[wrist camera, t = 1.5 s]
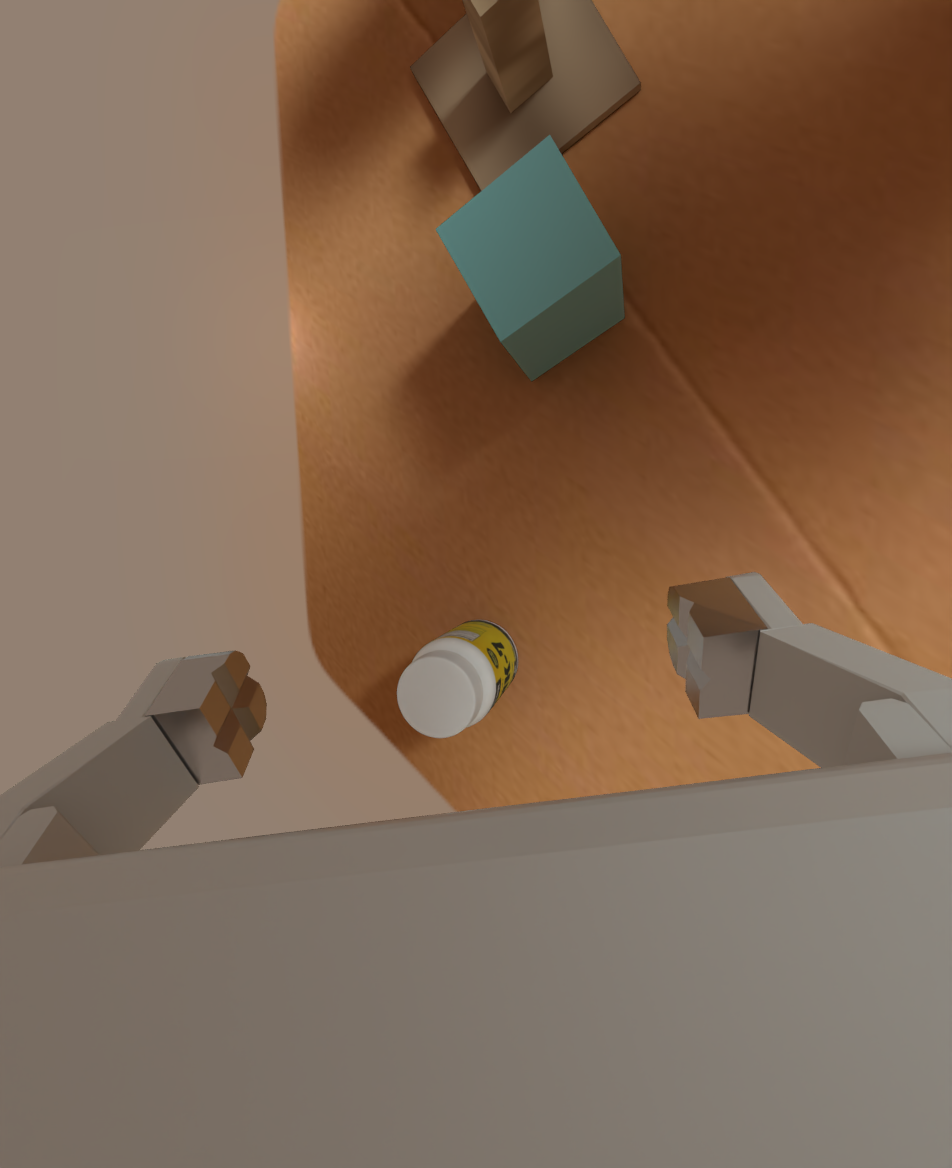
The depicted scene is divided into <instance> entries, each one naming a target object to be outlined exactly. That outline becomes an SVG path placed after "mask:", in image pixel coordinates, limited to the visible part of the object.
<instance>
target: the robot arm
mask: <svg viewBox="0 0 952 1168" xmlns="http://www.w3.org/2000/svg"><path fill="white" fill-rule="evenodd" d="M667 606H668V608H669V609H670V611H671V613H672V615H673V618H672V619H671V621H670V622H669V623H668V624H667V641H668V647H669V653H670V657H671V660H672V663H673V666H674V668H675V670H676V672H677V674H678V675H680V676H681V677H683V678H685V679H686V690H685V692H686V694H687V696H688V698H689V700H690V702H691V704H692V706H693V708H694V710H695V712H696V715H697V717H698V719H701V718H711V717H721V716H731V715H740V714H749V716H750V717H751V718H753V719H754V720H755V721H757V722H758V723H760V724H761V725H762V726H764V727H765V728H767V729H768V730H769V731H771V732H772V733H774V734H775V735H776V736H778V737H779V738H781V739H782V740H783V741H785V742H786V743H788V744H789V745H790V746H792V747H793V748H795V749H796V750H797V751H799V752H800V753H802V754H803V755H804V756H806V757H807V758H809V759H810V760H811V761H813V762H814V763H816V764H817V765H818V766H820V767H821V768H817V769H809V770H801V771H792V772H784V773H776V774H767V775H759V776H751V777H743V778H735V779H727V780H719V781H711V782H703V783H694V784H686V785H678V786H670V787H662V788H654V789H645V790H637V791H628V792H620V793H612V794H603V795H595V796H586V797H578V798H569V799H561V800H552V801H544V802H536V803H527V804H519V805H510V806H502V807H493V808H485V809H477V810H468V811H460V812H452V813H444V814H436V815H427V816H419V817H411V818H403V819H394V820H387V821H378V822H370V823H362V824H354V825H345V826H337V827H328V828H320V829H312V830H304V831H296V832H287V833H279V834H270V835H262V836H254V837H246V838H238V839H230V840H221V841H213V842H205V843H196V844H188V845H179V846H171V847H163V848H155V849H147V850H140V849H141V848H142V847H143V846H144V845H145V844H146V843H147V841H149V840H150V838H151V837H152V836H153V835H154V834H155V833H156V832H157V831H158V830H159V829H160V828H161V827H162V826H163V824H165V823H166V821H167V820H168V819H169V818H170V817H171V816H172V815H173V814H174V813H175V812H176V811H177V810H178V809H179V808H180V807H181V806H182V804H183V803H184V802H185V801H186V800H187V799H188V798H189V797H190V796H191V795H192V794H193V793H194V792H195V791H196V790H197V789H198V787H199V786H198V785H200V784H206V783H212V782H218V781H225V780H231V779H237V778H242V777H243V775H244V772H245V770H246V767H247V765H248V762H249V760H250V758H251V755H252V753H253V750H254V748H253V746H252V744H251V742H250V740H252V739H253V738H254V737H255V736H256V735H257V734H258V733H259V732H261V730H262V728H263V725H264V722H265V720H266V706H267V705H266V699H265V695H264V692H263V690H262V688H261V686H260V684H259V683H258V682H256V681H254V680H253V679H251V678H250V677H248V676H247V675H248V672H249V669H250V665H249V663H248V661H247V660H246V658H245V656H244V654H243V653H241V652H238V651H228V652H220V653H213V654H204V655H197V656H188V657H182V658H175V659H168V660H163V661H161V662H159V663H156V665H155V666H154V668H153V669H152V671H151V672H150V673H149V675H148V676H147V677H146V679H145V680H144V682H143V683H142V684H141V686H140V688H139V689H138V690H137V692H136V693H135V694H134V696H133V697H132V698H131V700H130V701H129V703H128V704H127V706H126V707H125V708H124V710H123V711H122V712H121V714H120V715H119V717H118V718H117V720H116V721H112V722H107V723H106V724H104V725H103V726H101V727H100V728H98V729H97V730H95V731H94V732H92V733H91V734H90V735H88V736H87V737H85V738H84V739H82V740H81V741H79V742H78V743H76V744H75V745H74V746H72V747H70V748H69V749H67V750H66V751H65V752H63V753H62V754H60V755H59V756H57V757H56V758H54V759H53V760H52V761H50V762H48V763H47V764H45V765H44V766H43V767H41V768H40V769H38V770H37V771H35V772H34V773H32V774H31V775H29V776H28V777H27V778H25V779H24V780H22V781H21V782H19V783H18V784H17V785H15V786H13V787H12V788H10V789H9V790H7V791H6V792H4V793H3V794H1V795H0V1168H952V679H951V678H949V677H946V676H944V675H941V674H939V673H936V672H934V671H931V670H929V669H926V668H924V667H921V666H919V665H916V664H914V663H911V662H908V661H906V660H903V659H901V658H898V657H896V656H893V655H891V654H888V653H886V652H883V651H881V650H878V649H876V648H873V647H871V646H868V645H866V644H863V643H861V642H858V641H856V640H853V639H851V638H848V637H846V636H843V635H841V634H838V633H836V632H833V631H830V630H828V629H825V628H823V627H820V626H818V625H815V624H813V623H810V624H802V622H801V621H800V620H799V619H798V618H797V617H796V616H795V614H794V613H793V612H792V611H791V610H790V609H789V607H788V606H787V605H786V604H785V603H784V602H783V600H782V599H781V598H780V597H779V596H778V595H777V593H776V592H775V591H774V590H773V589H772V588H771V586H770V585H769V584H768V583H767V582H766V581H765V579H764V578H763V577H762V576H761V575H760V574H759V573H756V572H751V573H745V574H740V575H734V576H729V577H726V578H721V579H715V580H709V581H702V582H696V583H690V584H683V585H677V586H671V587H669V591H668V603H667Z"/></svg>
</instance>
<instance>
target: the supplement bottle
mask: <svg viewBox="0 0 952 1168" xmlns="http://www.w3.org/2000/svg"><path fill="white" fill-rule="evenodd" d="M517 668H518V653H517V649H516V646H515V644H514V642H513V640H512V638H511V636H510V635H509V634H508V633H507V632H506V631H505V630H504V629H503V628H502V627H500V626H499V625H497V624H495V623H493V622H490V621H486V620H471V621H467V622H465V623H462V624H461V625H459V626H457V627H455V628H454V629H452V630H450V631H448V632H447V633H445V634H443V635H441V636H440V637H438V638H436V639H435V640H433V641H431V642H430V643H428V644H426V645H425V646H424V647H423V648H422V649H421V650H420V651H419V652H418V653H417V654H416V656H415V657H414V659H413V661H412V663H411V664H410V665H409V666H408V667H407V668H406V669H405V670H404V672H403V673H402V675H401V677H400V679H399V683H398V687H397V700H398V705H399V708H400V711H401V713H402V715H403V717H404V718H405V720H406V721H407V722H408V723H409V724H410V726H412V727H413V728H414V729H415V730H417V731H418V732H420V733H421V734H423V735H426V736H429V737H433V738H447V737H451V736H454V735H456V734H458V733H459V732H461V731H462V730H464V729H465V728H467V727H470V726H472V725H474V724H476V723H477V722H479V721H480V720H482V719H483V718H484V717H485V716H486V715H487V713H488V712H489V711H490V710H491V708H492V707H493V706H494V704H495V703H496V702H497V701H498V699H499V698H500V697H501V695H502V694H503V693H504V691H505V690H506V689H507V688H508V686H509V685H510V684H511V682H512V681H513V679H514V677H515V675H516V672H517Z"/></svg>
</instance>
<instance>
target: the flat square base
mask: <svg viewBox="0 0 952 1168" xmlns="http://www.w3.org/2000/svg"><path fill="white" fill-rule="evenodd" d="M462 1H463V4H464V7H465V10H466V14H465V15H464V16H463V17H462V18H461V19H460V20H459V21H458V22H457V23H456V24H455V25H454V26H453V27H452V28H451V29H450V30H448V31H447V32H446V33H445V34H444V35H443V36H442V37H441V38H440V39H439V40H438V41H437V42H436V43H435V44H434V45H433V46H432V47H431V48H430V49H428V50H427V51H426V52H425V53H424V54H423V55H422V56H421V57H420V58H419V59H418V60H417V61H416V62H415V63H414V64H413V65H412V66H411V67H410V68H411V70H412V72H413V74H414V76H415V78H416V79H417V81H418V83H419V85H420V86H421V88H422V90H423V91H424V93H425V95H426V97H427V98H428V100H429V102H430V104H431V105H432V107H433V109H434V110H435V112H436V114H437V116H438V117H439V119H440V121H441V122H442V124H443V126H444V128H445V129H446V131H447V133H448V134H449V136H450V138H451V140H452V141H453V143H454V145H455V147H456V148H457V150H458V152H459V153H460V155H461V157H462V159H463V160H464V162H465V164H466V165H467V167H468V169H469V171H470V172H471V174H472V176H473V178H474V179H475V181H476V183H477V184H478V186H479V188H480V190H481V191H482V190H483V189H485V188H486V187H487V186H488V185H489V184H491V183H492V182H493V181H494V180H495V179H497V178H498V177H499V176H500V175H501V174H503V173H504V172H505V171H506V170H508V169H509V168H510V167H511V166H512V165H514V164H515V163H516V162H517V161H518V160H520V159H521V158H522V157H523V156H524V155H526V154H527V153H528V152H529V151H530V150H532V149H533V148H534V147H535V146H537V145H538V144H539V143H540V142H541V141H543V140H544V139H545V138H546V137H547V136H549V135H550V136H551V137H552V139H553V141H554V142H555V144H556V146H557V148H558V149H559V151H560V153H561V154H562V153H563V152H564V151H566V150H567V149H568V148H569V147H571V146H572V145H573V144H574V143H576V142H577V141H578V140H579V139H581V138H582V137H583V136H584V135H585V134H587V133H588V132H589V131H590V130H592V129H593V128H594V127H595V126H597V125H598V124H599V123H600V122H602V121H603V120H604V119H605V118H606V117H608V116H609V115H610V114H611V113H613V112H614V111H615V110H616V109H618V108H619V107H620V106H621V105H623V104H624V103H625V102H626V101H627V100H629V99H630V98H631V97H632V96H634V95H635V94H636V93H637V92H639V91H640V90H641V82H640V81H639V79H638V77H637V76H636V74H635V72H634V71H633V69H632V67H631V65H630V64H629V62H628V60H627V59H626V57H625V55H624V54H623V52H622V50H621V49H620V47H619V45H618V44H617V42H616V40H615V39H614V37H613V35H612V34H611V32H610V30H609V29H608V27H607V25H606V24H605V22H604V20H603V19H602V17H601V15H600V14H599V12H598V10H597V9H596V7H595V5H594V4H593V2H592V0H462Z"/></svg>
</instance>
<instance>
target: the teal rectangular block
mask: <svg viewBox="0 0 952 1168" xmlns="http://www.w3.org/2000/svg"><path fill="white" fill-rule="evenodd" d="M436 231H437V233H438V234H439V236H440V238H441V240H442V241H443V243H444V245H445V247H446V248H447V250H448V252H449V253H450V255H451V257H452V259H453V260H454V262H455V264H456V266H457V267H458V269H459V271H460V273H461V274H462V276H463V278H464V280H465V281H466V283H467V285H468V286H469V288H470V290H471V292H472V293H473V295H474V297H475V299H476V300H477V302H478V304H479V306H480V307H481V309H482V311H483V313H484V314H485V316H486V318H487V320H488V321H489V323H490V325H491V326H492V328H493V330H494V332H495V333H496V335H497V337H498V339H499V340H500V342H501V343H502V345H503V346H504V347H505V348H506V350H507V351H508V352H509V354H510V355H511V356H512V357H513V359H514V360H515V361H516V362H517V364H518V365H519V366H520V368H521V369H522V370H523V371H524V373H525V374H526V375H527V376H528V378H529V379H530V380H531V382H532V381H533V380H535V379H536V378H538V377H539V376H541V375H542V374H543V373H545V372H546V371H548V370H549V369H551V368H552V367H554V366H555V365H557V364H558V363H560V362H561V361H562V360H564V359H565V358H567V357H568V356H570V355H571V354H573V353H574V352H576V351H577V350H579V349H580V348H581V347H583V346H584V345H586V344H587V343H589V342H590V341H592V340H593V339H595V338H596V337H598V336H599V335H600V334H602V333H603V332H605V331H606V330H608V329H609V328H611V327H612V326H614V325H615V324H617V323H618V322H619V321H621V320H622V319H624V318H625V314H624V298H623V282H622V266H621V255H620V253H619V251H618V249H617V248H616V246H615V244H614V243H613V241H612V239H611V238H610V236H609V234H608V233H607V231H606V229H605V227H604V226H603V224H602V222H601V221H600V219H599V217H598V216H597V214H596V212H595V210H594V209H593V207H592V205H591V204H590V202H589V200H588V199H587V197H586V195H585V193H584V192H583V190H582V188H581V187H580V185H579V183H578V182H577V180H576V178H575V176H574V175H573V173H572V171H571V170H570V168H569V166H568V165H567V163H566V161H565V159H564V158H563V156H562V154H561V153H560V151H559V149H558V148H557V146H556V144H555V142H554V141H553V139H552V137H551V136H550V135H549V136H547V137H546V138H545V139H544V140H543V141H541V142H540V143H539V144H538V145H537V146H535V147H534V148H533V149H532V150H530V151H529V152H528V153H527V154H526V155H524V156H523V157H522V158H521V159H520V160H518V161H517V162H516V163H515V164H514V165H512V166H511V167H510V168H509V169H508V170H506V171H505V172H504V173H503V174H501V175H500V176H499V177H498V178H497V179H495V180H494V181H493V182H492V183H491V184H489V185H488V186H487V187H486V188H485V189H483V190H482V191H481V192H480V193H479V194H477V195H476V196H475V197H474V198H472V199H471V200H470V201H469V202H468V203H466V204H465V205H464V206H463V207H462V208H460V209H459V210H458V211H457V212H456V213H454V214H453V215H452V216H451V217H449V218H448V219H447V220H446V221H445V222H443V223H442V224H441V225H440V226H439V227H437V228H436Z"/></svg>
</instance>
